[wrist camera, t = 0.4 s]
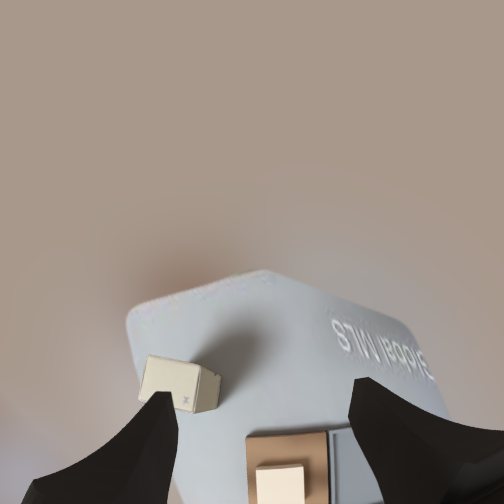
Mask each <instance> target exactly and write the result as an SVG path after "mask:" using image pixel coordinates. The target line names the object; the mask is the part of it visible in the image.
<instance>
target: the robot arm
mask: <svg viewBox="0 0 504 504" xmlns="http://www.w3.org/2000/svg"><path fill="white" fill-rule="evenodd" d="M348 418H349V421H350V425H351V428H352V431H353V433H354V436H355V438H356V440H357V442H358V444H359V446H360V448H361V450H362V452H363V454H364V456H365V458H366V460H367V462H368V464H369V466H370V468H371V470H372V472H373V474H374V476H375V478H376V480H377V483H378V486H379V489H380V492H381V494H382V497H383V500H384V504H504V431H500V430H488V429H481V428H475V427H470V426H466V425H462V424H459V423H455V422H452V421H449V420H446V419H443V418H441V417H438V416H436V415H433V414H431V413H429V412H426V411H424V410H422V409H420V408H419V407H417V406H415V405H413V404H411V403H409V402H408V401H406V400H404V399H402V398H401V397H399V396H398V395H396V394H394V393H393V392H391V391H390V390H388V389H387V388H385V387H384V386H382V385H381V384H379V383H377V382H376V381H374V380H373V379H371V378H369V377H365V378H359V379H355V380H354V386H353V392H352V398H351V403H350V408H349V414H348ZM178 430H179V429H178V424H177V419H176V414H175V409H174V404H173V398H172V393H171V391H156V392H155V393H154V394H153V395H152V396H151V397H150V398H149V400H148V401H147V402H146V403H145V405H144V406H143V407H142V408H141V409H140V411H139V412H138V413H137V414H136V415H135V416H134V417H133V418H132V419H131V421H130V422H129V423H128V424H127V425H126V426H125V427H124V428H123V429H122V430H121V431H120V432H119V433H118V434H117V435H116V436H114V437H113V438H112V439H111V440H110V441H109V442H107V443H106V444H105V445H104V446H102V447H101V448H100V449H98V450H97V451H95V452H94V453H92V454H91V455H89V456H87V457H86V458H84V459H83V460H81V461H79V462H78V463H75V464H73V465H71V466H70V467H67V468H65V469H63V470H60V471H58V472H56V473H53V474H50V475H47V476H44V477H41V478H38V479H34V480H33V481H32V483H31V485H30V486H29V489H28V490H27V492H26V494H25V497H24V499H23V501H22V503H21V504H167V499H168V492H169V487H170V482H171V477H172V472H173V468H174V463H175V458H176V453H177V445H178Z"/></svg>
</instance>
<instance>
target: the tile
mask: <svg viewBox="0 0 504 504" xmlns="http://www.w3.org/2000/svg"><path fill="white" fill-rule="evenodd" d="M256 483H257V503H258V504H305V499H304V470H303V466H302V464H301V463H300V464H289V465H276V466H258V467H256Z"/></svg>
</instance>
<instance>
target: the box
mask: <svg viewBox="0 0 504 504" xmlns="http://www.w3.org/2000/svg"><path fill="white" fill-rule="evenodd" d="M220 384H221V376H220V375H218V374H216V373H214V372H212V371H210V370H208V369H206V368H204V367H202V366H200V365H197V364H193V363H189V362H184V361H180V360H175V359H170V358H165V357H160V356H154V355H147V358H146V363H145V367H144V371H143V375H142V380H141V385H140V391H139V396H138V399H139V400H140V401H142V402H145V403H146V402H147V401H148V400H149V398H150V397H151V396H152V395H153V394H154V393H155V392H156V391H171V393H172V398H173V404H174V409H175V410H176V411H181V412H186V413H191V414H195V413H200V412H204V411H209V410H213V409H216V408H217V403H218V398H219V391H220Z"/></svg>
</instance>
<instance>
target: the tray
mask: <svg viewBox="0 0 504 504" xmlns="http://www.w3.org/2000/svg"><path fill="white" fill-rule="evenodd" d="M327 447H328V472H329V504H384V500H383V497H382V494H381V492H380V489H379V486H378V483H377V480H376V478H375V476H374V474H373V472H372V470H371V468H370V466H369V464H368V462H367V460H366V458H365V456H364V454H363V452H362V450H361V448H360V446H359V444H358V442H357V440H356V438H355V436H354V433H353V431H352V428H351V427H345V428H338V429H331V430H327Z"/></svg>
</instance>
